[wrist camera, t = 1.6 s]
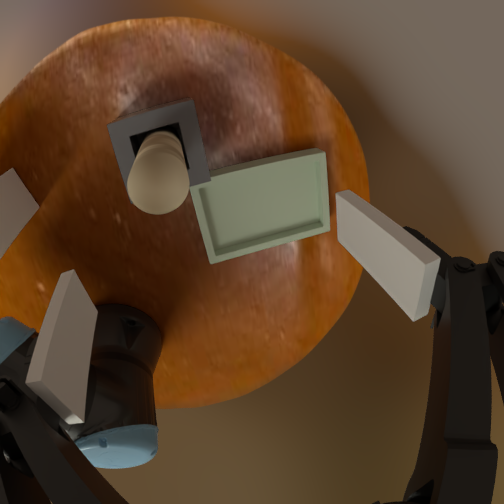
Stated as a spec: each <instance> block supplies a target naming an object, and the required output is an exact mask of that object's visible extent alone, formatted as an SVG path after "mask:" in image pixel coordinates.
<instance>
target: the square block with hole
mask: <svg viewBox="0 0 504 504" xmlns="http://www.w3.org/2000/svg"><path fill="white" fill-rule="evenodd" d="M166 125H169V126H171V127H173V128H174V129H175V130H176V131H177V133H178V135H179V138H180V142H181V146H182V151H183V155H184V159H185V163H186V168H187V172H188V176H189V184H190V185H189V187H191V186H195V185H198V184H202V183H206V182H210V181H211V177H210V173H209V168H208V164H207V159H206V155H205V150H204V146H203V141H202V137H201V132H200V127H199V123H198V118H197V114H196V109H195V104H194V100H193V99H191V98H190V97H188V98H184V99H180V100H176V101H172V102H168V103H165V104H161V105H157V106H154V107H150V108H147V109H144V110H140V111H137V112H134V113H131V114H128V115H124V116H121V117H118V118H116V119H115V120H113V121H112V122H110V123H109V124H108V125H107V127H108V131H109V135H110V138H111V142H112V145H113V149H114V152H115V155H116V159H117V162H118V165H119V168H120V172H121V175H122V178H123V181H124V184H125V187H126V190H127V181H128V177H129V174H130V171H131V169H132V166H133V164H134V161H135V159H136V156H137V154H138V151H139V149H140V147H141V144H142V142H143V140H144V137H145V135H146V133H147V132H148V131H149V130H152V129H155V128H159V127H162V126H166ZM127 193H128V190H127ZM128 196H129V194H128ZM129 199H130V197H129ZM130 202H131V204H133V202H132V200H131V199H130Z"/></svg>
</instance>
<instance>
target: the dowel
mask: <svg viewBox="0 0 504 504" xmlns="http://www.w3.org/2000/svg"><path fill="white" fill-rule="evenodd" d="M189 185H190V184H189V176H188V172H187V168H186V163H185V159H184V155H183V151H182V146H181V142H180V138H179V135H178V133H177V131H176V130H175V129H174V128H173V127H171V126H169V125H166V126H162V127H159V128H155V129H152V130H149V131H148V132H147V133H146V135H145V137H144V140H143V142H142V144H141V147H140V149H139V151H138V154H137V156H136V159H135V161H134V164H133V166H132V169H131V171H130V174H129V177H128V181H127V190H128V194H129V197H130V199H131V200H132V202H133V203H134V205H135V206H137V207H138V208H139V209H140V210H142V211H144V212H146V213H150V214H165V213H169V212H171V211H173V210H175V209H176V208H178V207H179V206H180V205H181V204H182V203H183V201H184V200H185V198H186V197H187V194H188V191H189Z"/></svg>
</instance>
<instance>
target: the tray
mask: <svg viewBox="0 0 504 504" xmlns="http://www.w3.org/2000/svg"><path fill="white" fill-rule="evenodd" d="M209 173H210V177H211V181H210V182H206V183H202V184H198V185H195V186H191V187H189V188H190V192H191V196H192V200H193V204H194V207H195V211H196V215H197V219H198V222H199V226H200V230H201V233H202V237H203V240H204V244H205V248H206V251H207V255H208V258H209V262H210V264H214V263H217V262H221V261H224V260H228V259H231V258H235V257H239V256H242V255H246V254H249V253H253V252H256V251H260V250H263V249H267V248H271V247H274V246H278V245H281V244H285V243H288V242H292V241H295V240H299V239H303V238H306V237H310V236H313V235H317V234H320V233H324V232H327V231H330V216H329V196H328V180H327V165H326V153H325V152H324V151H322V150H320V149H318V148H312V149H307V150H301V151H296V152H291V153H286V154H281V155H276V156H272V157H267V158H262V159H258V160H253V161H249V162H245V163H240V164H236V165H232V166H228V167H224V168H220V169H216V170H212V171H209Z"/></svg>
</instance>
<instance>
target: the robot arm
mask: <svg viewBox="0 0 504 504" xmlns="http://www.w3.org/2000/svg"><path fill="white" fill-rule="evenodd" d="M336 209H337V233H338V241H339V242H340V243H341V244H342V245H343V246H344V247H345V248H346V249H347V251H348V252H349V253H350V254H351V255H352V256H353V257H354V258H355V259H356V260H357V261H358V262H359V263H360V264H361V265H362V266H363V267H364V268H365V269H366V270H367V271H368V272H369V273H370V274H371V276H372V277H373V278H374V279H375V280H376V281H377V282H378V283H379V284H380V285H381V286H382V287H383V289H384V290H385V291H386V292H387V293H388V294H389V295H390V296H391V297H392V298H393V299H394V301H395V302H396V303H397V304H398V305H399V306H400V307H401V308H402V309H403V311H404V312H405V313H406V314H407V315H408V316H409V317H410V318H411V320H412V321H416V320H417V319H420V318H421V317H423V316H425V315H427V314H428V311H429V306H430V303H431V304H432V305H433V306H434V307H435V308H436V311H435V314H434V318H433V321H432V324H431V328H433V326H434V338H433V339H434V340H433V355H432V367H431V377H430V387H429V395H428V402H427V409H426V416H425V422H424V428H423V433H422V438H421V443H420V449H419V453H418V458H417V462H416V466H415V469H414V472H413V474H412V476H411V478H410V480H409V483H408V485H407V488H406V491H405V494H404V498H403V501H400V502H388V503H383V504H491V501H492V496H493V489H494V483H495V476H496V469H497V459H498V449H497V447H496V445H495V444H493V443H492V442H491V440H490V431H491V403H492V401H491V400H492V398H491V397H492V395H491V391H492V390H491V362H490V356H491V359H492V362H493V366H494V369H495V373H496V376H497V380H498V384H499V387H500V391H501V396H502V400H503V403H504V306H503V304H502V303H504V252H501V251H495V252H492V253H491V254H490V256H489V260H488V263H484V264H477V265H476V264H475V263H474V262H473V261H471V260H469V259H468V258H464V257H453V258H451V256H449V255H448V254H447V253H445V252H444V251H443V250H442V249H441V248H439V247H438V246H437V245H435V244H434V243H433V242H431V241H430V240H429V239H428V238H425V237H424V235H422V234H421V233H420V232H418V231H417V230H415V229H412V228H410V227H407V226H405V227H401V226H399V225H398V224H397V223H395V222H394V221H393V220H391V219H390V218H388V217H387V216H386V215H384V214H383V213H382V212H380V211H379V210H377V209H376V208H375V207H373V206H372V205H370V204H369V203H368V202H366V201H365V200H363V199H362V198H360V197H359V196H358V195H356V194H355V193H353V192H352V191H350V190H345V191H341V192H337V193H336ZM161 348H162V344H161V334H160V330H159V328H158V326H157V325H156V323H155V322H154V321H153V320H152V319H151V318H150V317H149V316H148V315H146V314H145V313H143V312H142V311H140V310H138V309H135V308H133V307H130V306H126V305H120V304H105V305H100V306H96V307H95V306H94V304H93V303H92V301H91V299H90V297H89V296H88V294H87V292H86V290H85V289H84V287H83V285H82V283H81V281H80V280H79V278H78V276H77V274H76V272H75V270H74V269H73V270H70V271H67V272H64V273H61V276H60V278H59V280H58V283H57V285H56V288H55V291H54V293H53V296H52V298H51V301H50V304H49V307H48V309H47V312H46V315H45V318H44V321H43V324H42V327H41V330H40V333H37V332H36V330H35V329H34V328H29V327H28V326H26V325H24V324H23V323H21V322H19V321H18V320H16V319H15V318H12V317H3V318H1V319H0V504H51V502H52V503H53V504H129V503H128V502H127V501H126V500H125V499H124V498H123V497H122V496H121V495H120V494H119V493H118V492H117V491H116V490H115V489H114V488H113V487H112V486H111V485H110V484H109V483H108V482H107V480H106V479H105V478H104V477H103V476H102V475H101V474H100V473H99V472H98V471H97V469H96V468H95V467H100V468H127V467H134V466H137V465H141V464H144V463H146V462H148V461H149V460H151V459H152V458H153V457H154V456H155V455H156V453H157V450H158V440H157V433H158V427H157V421H156V411H155V401H154V389H153V373H154V370H155V368H156V365H157V362H158V359H159V357H160V354H161ZM50 500H51V502H50ZM373 504H380V502H379V501H377V502H375V503H373Z"/></svg>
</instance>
